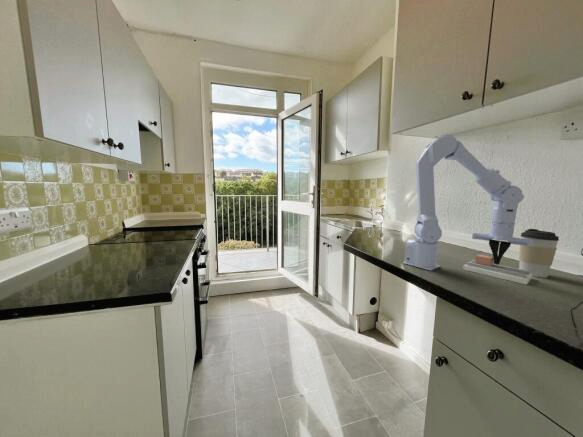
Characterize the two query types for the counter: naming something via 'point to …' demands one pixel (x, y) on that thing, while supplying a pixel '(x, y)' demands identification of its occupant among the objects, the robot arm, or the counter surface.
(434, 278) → the counter surface
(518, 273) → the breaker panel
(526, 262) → the coffee cup
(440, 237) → the robot arm
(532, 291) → the counter surface
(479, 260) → the switch
